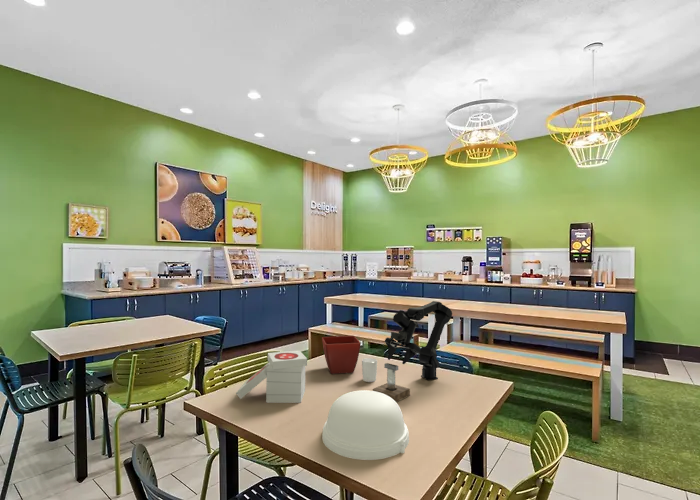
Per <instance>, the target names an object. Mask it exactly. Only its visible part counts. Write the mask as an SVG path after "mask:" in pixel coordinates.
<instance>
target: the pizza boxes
mask: <svg viewBox="0 0 700 500" xmlns="http://www.w3.org/2000/svg"><path fill="white" fill-rule="evenodd" d="M307 366H308V357H306V356H305V355H304V353H303V351H302V352H301V350H289V351H277V352H268V353H267V363H266V364H265V365H264V366H262V367H261V368H260V369H259V370H258V371H257V372H256V373H254V374H253V375H252V376H250V377H248V379H247V380H245V382H244V383H243V384H242V385H241V387H239V389H238V390H237V391H236V392H235V393H236V395H237V397H238V398H239V399H240V400H241V399H243V397H245V396H246V395H247V394H248V393H250V392H251V391H252V390H253V389H255V388H256V387H257V386H258V385H259V384H260V383H262V382H263V381H264V380H265V379H266V383H265V384H266V387H265V389H266V391H265V392H266V397H265V399H266V400H265V402H266V403H269V404H270V403H273V404H274V403H276V404H277V403H278V404H279V403H281V404H284V403H285V404H286V403H290V404H292V403H293V404H294V403H295V404H297V403H298V404H301V403H302V400H303V399H304V395H305V392H306V367H307Z"/></svg>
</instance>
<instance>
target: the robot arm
mask: <svg viewBox="0 0 700 500" xmlns="http://www.w3.org/2000/svg"><path fill="white" fill-rule="evenodd" d="M430 313H434V318H435V322H434V325H433V328H432V330H431V333H430V335H429V339H428V342H427V343H426V345H425V346H421V347H420V346H419V345H418V344H416V343H415V342H414V343H413V342H411V341H412V339H414V336H413V335H414V333H415V330H416V328H417V329H418V328H420V327H419V324H418V322H419V321H421V320H423V319H424V318H425V316H426V315H428V314H430ZM452 317H453V312H452V310H451V308H449V307H448V306H447V305H444V304H443V303H442V302H441V301H437V300H433V301H431V302H429V303H427V304H424V305H422V306H420V307H419V306H418V307H409V308H408V309H407V311H404V310H403V309H402V310H401V309H399V310H398V312H396V313H395V314H394V315H393V317H392V320H393V322H394V323H395V324H396V325H398V326H399V327H400V328H401V330H398V332H394V331H391V333H390V337H387V336H386V337H385V339H384V343H385V345H386V347H387V361H390V360H391V359H392V357H393V355H394V354H395V352H396V351H397V348H398V347H401V348H404V349H405V354H404V356H403V360H402V362H401V363H402V364H401V365H405V364H406V363H407V362H409V360H411V358H413V357H414V356H417V354H418V360H419V364H420V365H421V366H422V369H421V375H420V377H422V378H423V379H425V380H427V381H430V380H431V381H432V380H438V379H439V377H437V369H438V368H439V366H440V361H439V360H438V359H437V346H438V344H439V341H440V339H441V336H442V334H443V331H444V328H445V325H446V324H448V323H449V322H450V321H451V318H452Z"/></svg>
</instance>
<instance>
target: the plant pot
mask: <svg viewBox="0 0 700 500" xmlns="http://www.w3.org/2000/svg"><path fill="white" fill-rule="evenodd" d="M321 340H322V347H323V348H322V349H323V353H324V357H325V363H326V365H327V369H328V371H329V374H331V375H333V374H334V375H335V374H351V373H354V372H355V370H356V368H357V367H356V366H357V365H358V364H357V363H358V360H359V355H360V351H361V344H362V343H361V342H360V341H361V340H359V339H358V338H357V337H356V336H354V335H340V336H338V335H337V336H323V337H321Z"/></svg>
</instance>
